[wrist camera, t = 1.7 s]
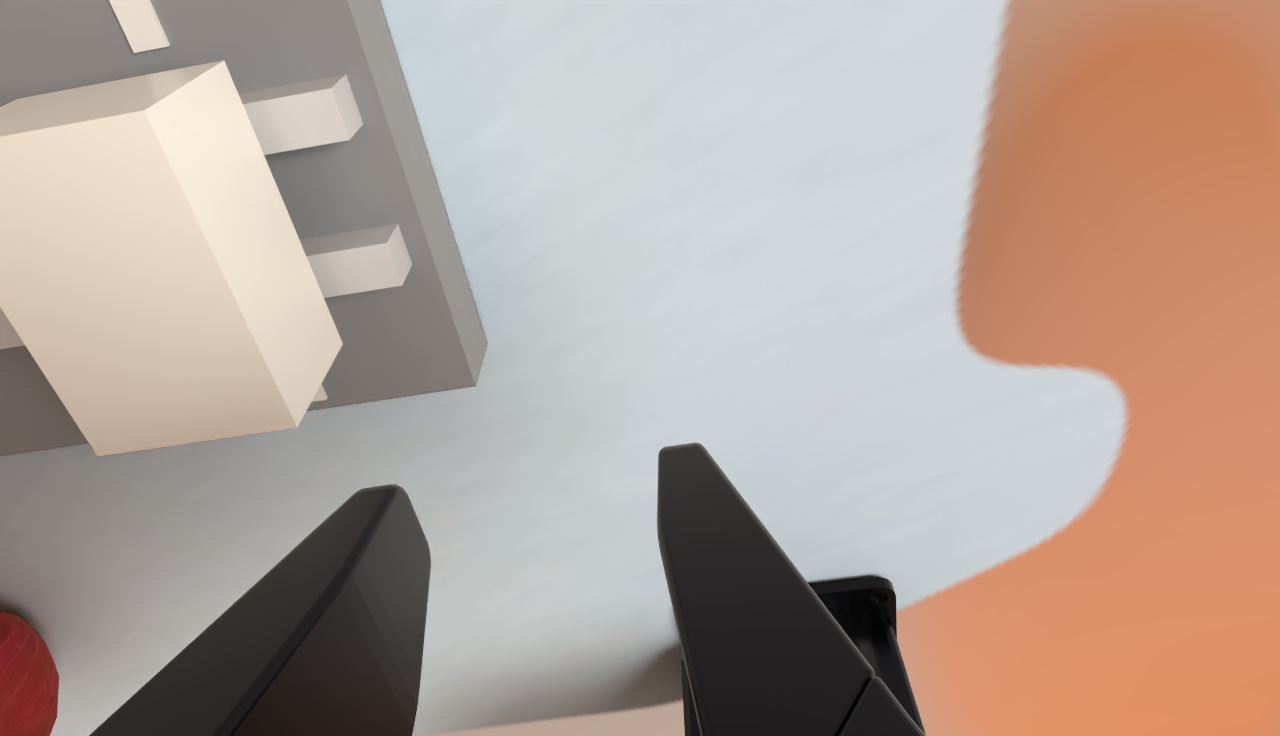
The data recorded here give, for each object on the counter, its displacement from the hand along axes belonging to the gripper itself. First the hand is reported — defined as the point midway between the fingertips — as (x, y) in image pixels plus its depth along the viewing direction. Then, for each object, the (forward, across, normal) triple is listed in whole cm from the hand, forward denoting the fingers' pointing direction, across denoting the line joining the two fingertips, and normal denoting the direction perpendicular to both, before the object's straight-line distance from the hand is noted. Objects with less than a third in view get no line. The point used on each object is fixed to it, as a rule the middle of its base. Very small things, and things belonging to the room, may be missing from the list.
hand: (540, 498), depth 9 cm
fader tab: (+11, +8, 0) cm, 13 cm away
